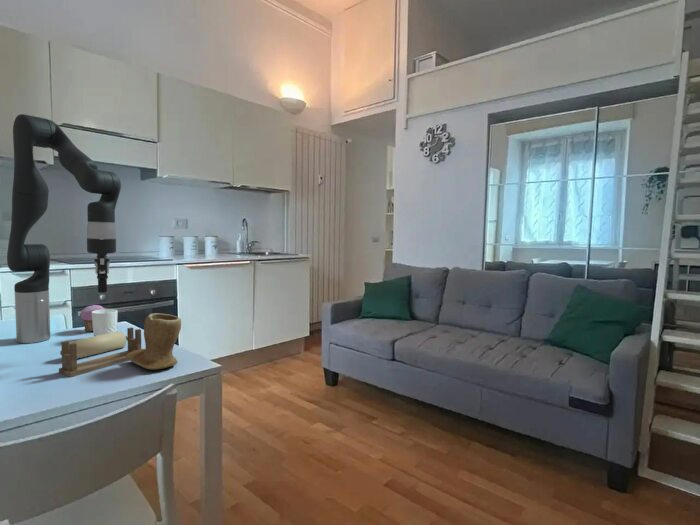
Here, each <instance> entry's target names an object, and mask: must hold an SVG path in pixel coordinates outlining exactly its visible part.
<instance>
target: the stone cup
mask: <svg viewBox="0 0 700 525" xmlns="http://www.w3.org/2000/svg"><path fill="white" fill-rule="evenodd" d="M143 325H144V326H143V327H144V328H143V338H144V343H145V348H141V349H139V350H135V351H132V352H130V353H128V354H127V355H126V358H127V359H128V360H129V361H130V362H132V363H133V364H135V365H137V366H140V367H141V368H143V369H146V370H162V369H166V368H169V367H173V366H175V365H177V364H178V359H177V358H176V357H175V356H174V355H173V350H174V347H175V343H176V342H177V339H178V337H179V335H180V333H181V329H182V319H181V318H180V317H179V316H176V315H173V314H167V313H158V312H155V313H149V314H148V315H147V316H146V317H145V319H144V324H143Z"/></svg>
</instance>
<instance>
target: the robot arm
mask: <svg viewBox="0 0 700 525" xmlns="http://www.w3.org/2000/svg"><path fill="white" fill-rule="evenodd" d="M12 125H13V126H12V141H13V142H12V143H13V159H14V160H13V162H14V163H13V164H14V165H13V183H12V184H13V185H12V195H11V222H10V223H11V224H10V233H9V237H8V238H9V240H8V245H7V251H6V252H7V253H6V263H7V267H8V269H9V270H10V271H12V272H14V273H15V272H16V273H17V272H18V273H19V272H33V274H32V275H31V276H29V277H28V278H26V279H23V280H20V281H18V282H16V283H15V284H14V305H15V306H14V310H15V338H16V343H18V344H33V343H39V342H43V341H44V342H45V341H48V340H50V339H51V316H50V291H49V290H50V265H51V264H50V263H51V258H50V256H51V255H50V250H49V248H48V246H47V245H45V244H42V243H41V244H39V243H31V244H30V243H25V241H26V240H27V239H26V238H27V236H28V234H29V232H30V230H31V229H32V228H33V227H34V226H35V225H36V224H37V222H38V221H39V220H40V219H41V218H42V217H43V216H44V214H46V211H47V210H48V206H49V192H50V191H49V186H48V184H47V182H46V181H45V179H44V176H42V174H41V173H40V171H39V169H38V168H37V166H36V163H35V160H34V147H37V148H43V149H51V150H53V151H55V152H57V157H58V161H59V163H60V165H61V166H62V168H64V169H65V170H66V171H68V172H69V173H70V174H71V175H72V176H73V177H74V179H75V180H76V182H77V183H78V186H79V187H80V188H81V189H82V190H83V191H85V192H87V193H90V194H98V195H101V196H100V198H99V200H98V201H92V202H89V203H88V205H87V209H86V210H87V225H86V252H87V253H89V254H96V258H94V259H93V261H94V263H93V264H94V266H95V267H94V268H95V269H94V270H95V274H96V279H97V292H98V293H100V294H101V293H102V294H103V293H107V291H108V282H107V281H108V279H109V275H108V274H109V272H110V264H111V261H110V260H111V259H110V258H108V256H107V255H108V254H114V253H117V228H116V224H115V223H116V215H115V214H116V211H115V210H116V207H117V204H118V200H119V196H120V192H121V190H122V183H121V179H120V177H119V175H117V173H115V172H113V171H107V170H101V169H98V166H97V164H96V162H95V161H94V160H93V159H92V158H90V157H89V156H88V155H87V154H86V153H84V152H83V151H81V150H80V149H79V148H78V147H77V146H76V145H75V144H74V143H73V141H72V140H71V139H70V138H69V137H68V136H67V134H66V133H65V132H64V131H63V130H62V128H61V127H60V126H59V125H58V124H57V123H56V122H55V121H53V120H51V119H48V118H44V117H40V116H36V115H35V116H34V115H29V114H23V113H22V114H18V115H17V116H16V117H15V119H14V120H13V124H12Z"/></svg>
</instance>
